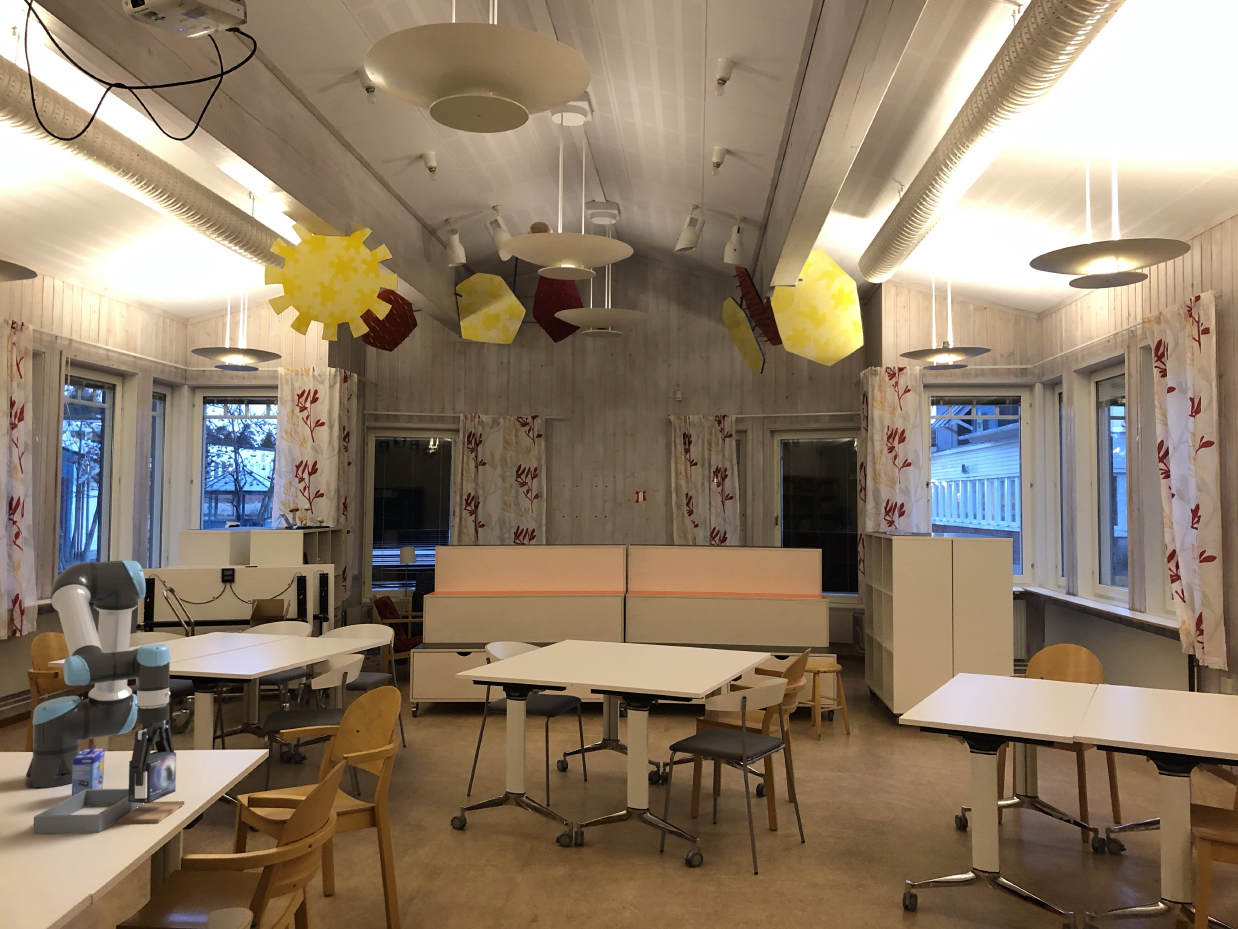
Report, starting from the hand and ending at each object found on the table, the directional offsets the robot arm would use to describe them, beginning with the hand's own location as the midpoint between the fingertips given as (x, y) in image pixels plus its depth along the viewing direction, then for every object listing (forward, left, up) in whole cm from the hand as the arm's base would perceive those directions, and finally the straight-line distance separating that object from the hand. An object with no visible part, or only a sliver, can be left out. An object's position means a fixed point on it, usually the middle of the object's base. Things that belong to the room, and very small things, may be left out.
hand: (152, 790), depth 238 cm
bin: (+2, -15, -6) cm, 16 cm away
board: (0, 0, -6) cm, 6 cm away
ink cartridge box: (-15, -25, -6) cm, 30 cm away
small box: (0, 0, -2) cm, 2 cm away
